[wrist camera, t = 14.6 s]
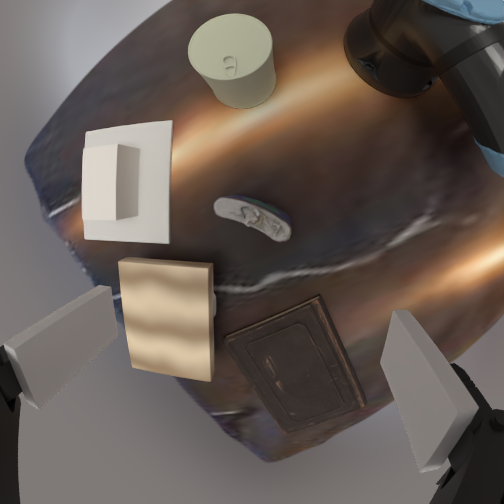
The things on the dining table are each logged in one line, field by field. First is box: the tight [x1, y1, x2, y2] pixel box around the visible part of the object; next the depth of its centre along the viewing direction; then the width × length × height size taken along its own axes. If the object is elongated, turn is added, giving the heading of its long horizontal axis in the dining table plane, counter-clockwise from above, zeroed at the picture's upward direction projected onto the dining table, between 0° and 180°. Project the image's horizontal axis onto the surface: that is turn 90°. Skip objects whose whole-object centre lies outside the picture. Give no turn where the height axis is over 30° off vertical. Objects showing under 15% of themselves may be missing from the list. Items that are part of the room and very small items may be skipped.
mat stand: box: [82, 120, 174, 244], centre depth 37 cm, size 18×16×7 cm
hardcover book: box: [222, 294, 367, 434], centre depth 44 cm, size 16×23×2 cm
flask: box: [214, 195, 293, 242], centre depth 34 cm, size 9×3×11 cm, turn 67°
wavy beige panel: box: [118, 257, 215, 382], centre depth 37 cm, size 16×12×2 cm
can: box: [188, 14, 276, 109], centre depth 30 cm, size 9×9×12 cm
